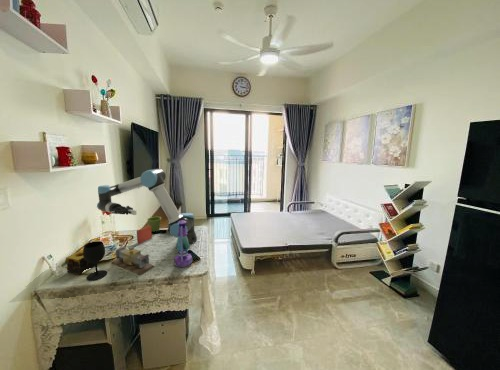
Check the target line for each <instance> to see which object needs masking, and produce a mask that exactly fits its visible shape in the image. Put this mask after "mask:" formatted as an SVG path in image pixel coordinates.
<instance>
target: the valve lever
mask: <svg viewBox="0 0 500 370" xmlns="http://www.w3.org/2000/svg"><path fill="white" fill-rule="evenodd" d="M136 237H137V238H136V239H137V242H136V243H134V244H132V245H131V244H130V245H128V247H127V249H128V250H131V249H135V247H138V246H141V245H143V244H145V243H147V242H149V241H152V240H153V237H152V231H151V226H149V225H148V226H145V227H142V228H139V229H136Z"/></svg>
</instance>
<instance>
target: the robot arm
mask: <svg viewBox="0 0 500 370" xmlns="http://www.w3.org/2000/svg"><path fill="white" fill-rule="evenodd" d="M166 178H167V174H166V172H165V171H164V170H163V169H162V168H153V169H148V170H146V171H143V172H142V173H141V176H139V177H135V178H133V179H130V180H127V181H124V182H121V183H118V184H115V185H112V186H110V185H108V184H104V185H99V186H98V187H97V194H98V202H97V204H96V208H97V209H98V210H99V211H102V212H106V213H111V214H115V215H125V214H126V215H133V216H137V210H135V209H134V208H133V207H131V206H130V205H126V206H123V205H121V204H120V203H117V202H113V201H112V197H114V196H118V195H120V194H123V193H127V192H129V191H132V190H135V189H138V188H142V187H146V188H147V189H148V190H149V192H152V193H153V195H154V196H155V198H156V199H157V202H158V203H159V205H160V207H161V209H162V210H163V212H164V214H165V215H166V217H167V220H168V219H169V225H170V231H169V233H170V235H171V236H173V237H174V238H177V239H178V237H179V236H178V232H179V231H178V229H179V223H178V222H179V221H181V220H183V221H186V223H185V227H186V232H187V233H188V234H187V235H186V236H187V238H188V241H189V245H190V243H191V244H193V242H194V243H196V242H197V241H198V237H197V233H196V231H195V214H194V213H192V212H182V213H180V212H179V210H178V208H177V206H176V204H175V203H174V201H173V199H172V197H171V196H170V194H169V193H168V191H167V189H166V187H165V184H166V183H165V181H166ZM179 213H180V214H179ZM195 241H196V242H195Z"/></svg>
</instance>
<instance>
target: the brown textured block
mask: <svg viewBox="0 0 500 370" xmlns="http://www.w3.org/2000/svg"><path fill="white" fill-rule="evenodd" d="M65 261H66V270H67V271H66V272H67V273H69V274H73V275H79V276H81V275H83V274H82V272H83V271H84V270H86V269H89V268H91V269H93V268H95V265H94V264H92V263H89V262H87V261H86V260H85V259H84V257H83V249H82V250H79V251H76V252H75V253H72V254H71V255H68V256H67V257H65Z"/></svg>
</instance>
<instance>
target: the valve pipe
mask: <svg viewBox="0 0 500 370" xmlns="http://www.w3.org/2000/svg"><path fill="white" fill-rule="evenodd" d="M114 251H115V257H116V258H115V259H118V258H119V261H120V262H122V263H123V262H124V263H126V264H129V265H131V266H132V265H134V264H135V267H136V268H137V269H140V268H142V267H144V266H146V265H147V264H150V258H149V257H150V256H149V254H142V253H141V250H139V249H136V248H134V249H131V250H129V249H128V248H126V246H122V247H119V248H116V249H115V250H114Z"/></svg>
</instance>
